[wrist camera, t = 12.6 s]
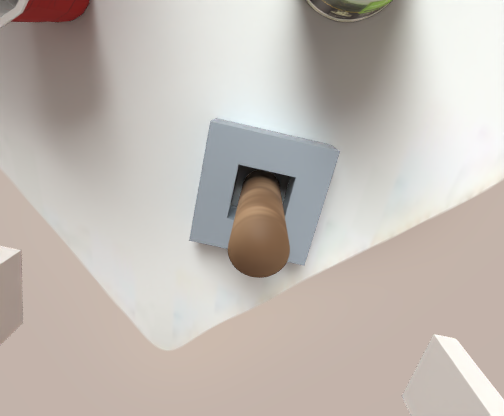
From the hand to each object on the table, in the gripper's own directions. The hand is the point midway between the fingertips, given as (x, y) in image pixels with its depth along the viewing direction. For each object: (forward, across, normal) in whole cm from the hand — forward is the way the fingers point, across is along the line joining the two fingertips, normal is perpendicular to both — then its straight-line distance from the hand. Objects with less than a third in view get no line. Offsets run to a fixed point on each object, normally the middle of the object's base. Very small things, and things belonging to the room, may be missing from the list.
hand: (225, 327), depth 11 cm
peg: (+25, +2, -2) cm, 26 cm away
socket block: (+25, +2, -2) cm, 25 cm away
